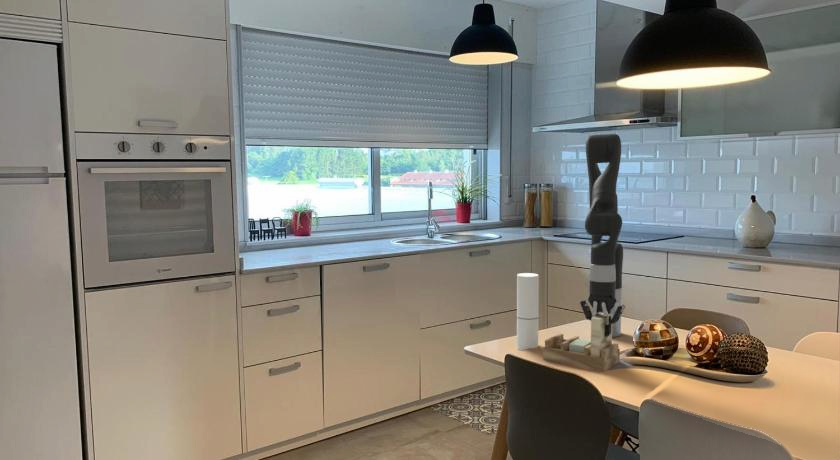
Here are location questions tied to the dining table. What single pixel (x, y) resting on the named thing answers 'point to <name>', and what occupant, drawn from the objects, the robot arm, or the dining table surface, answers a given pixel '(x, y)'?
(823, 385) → the dining table surface
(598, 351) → the beige mottled rectangular block
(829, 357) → the dining table surface
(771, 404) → the dining table surface
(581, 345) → the offcut upper
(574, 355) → the rack
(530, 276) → the cylindrical container
